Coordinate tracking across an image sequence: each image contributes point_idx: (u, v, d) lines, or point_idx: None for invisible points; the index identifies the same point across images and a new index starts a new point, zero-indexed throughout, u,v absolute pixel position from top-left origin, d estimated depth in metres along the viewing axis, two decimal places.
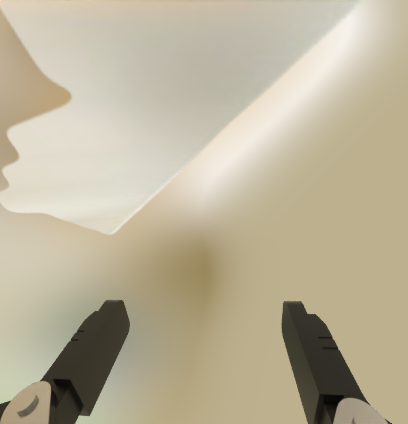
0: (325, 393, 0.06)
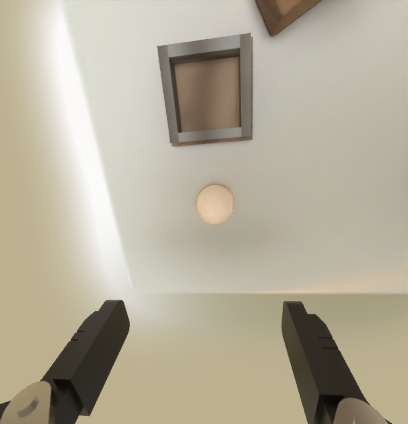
0: (325, 393, 0.06)
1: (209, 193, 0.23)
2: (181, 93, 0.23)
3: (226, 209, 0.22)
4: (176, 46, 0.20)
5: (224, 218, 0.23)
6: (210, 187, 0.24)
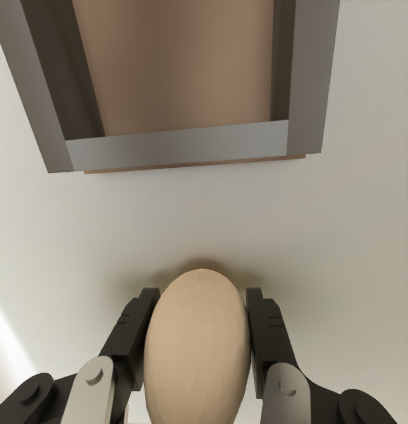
0: (262, 359, 0.07)
1: (175, 339, 0.07)
2: (87, 13, 0.07)
3: (231, 411, 0.06)
4: None
5: None
6: (183, 299, 0.08)
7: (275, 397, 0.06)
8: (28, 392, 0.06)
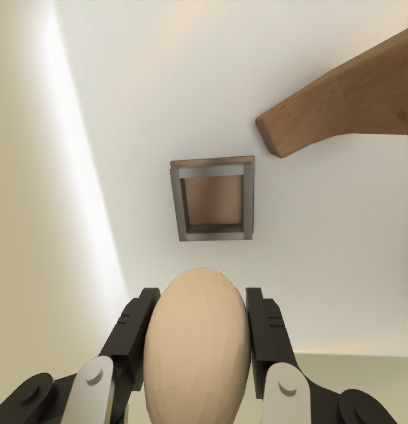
0: (262, 359, 0.07)
1: (175, 338, 0.07)
2: (189, 195, 0.26)
3: (232, 411, 0.06)
4: (186, 170, 0.22)
5: None
6: (183, 299, 0.08)
7: (275, 397, 0.06)
8: (27, 392, 0.06)
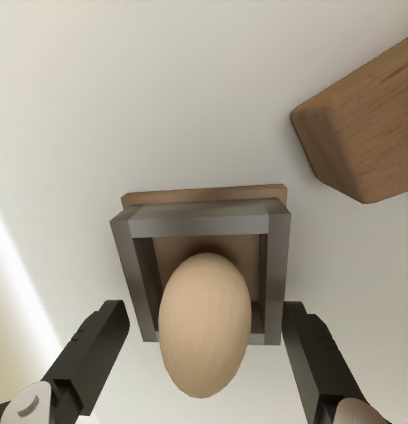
0: (325, 393, 0.06)
1: (188, 304, 0.08)
2: (162, 255, 0.14)
3: (235, 362, 0.08)
4: (145, 224, 0.10)
5: None
6: (193, 274, 0.10)
7: None
8: None
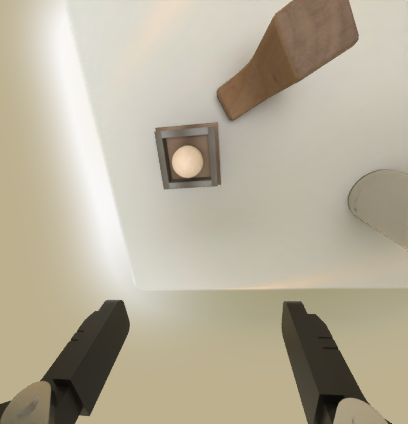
0: (325, 393, 0.06)
1: (181, 150, 0.28)
2: (171, 154, 0.34)
3: (194, 162, 0.28)
4: (167, 132, 0.30)
5: (193, 169, 0.28)
6: (183, 146, 0.30)
7: None
8: None
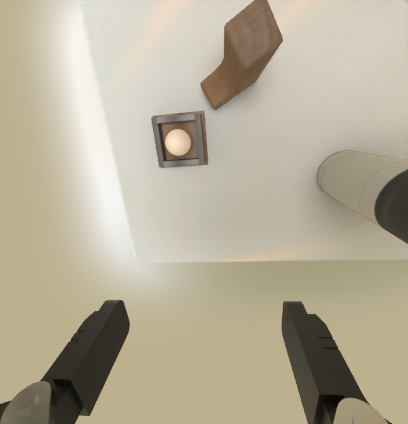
0: (325, 393, 0.06)
1: (172, 131, 0.35)
2: (165, 138, 0.41)
3: (182, 140, 0.34)
4: (161, 118, 0.37)
5: (181, 147, 0.35)
6: None
7: None
8: None
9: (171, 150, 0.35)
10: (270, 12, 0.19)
